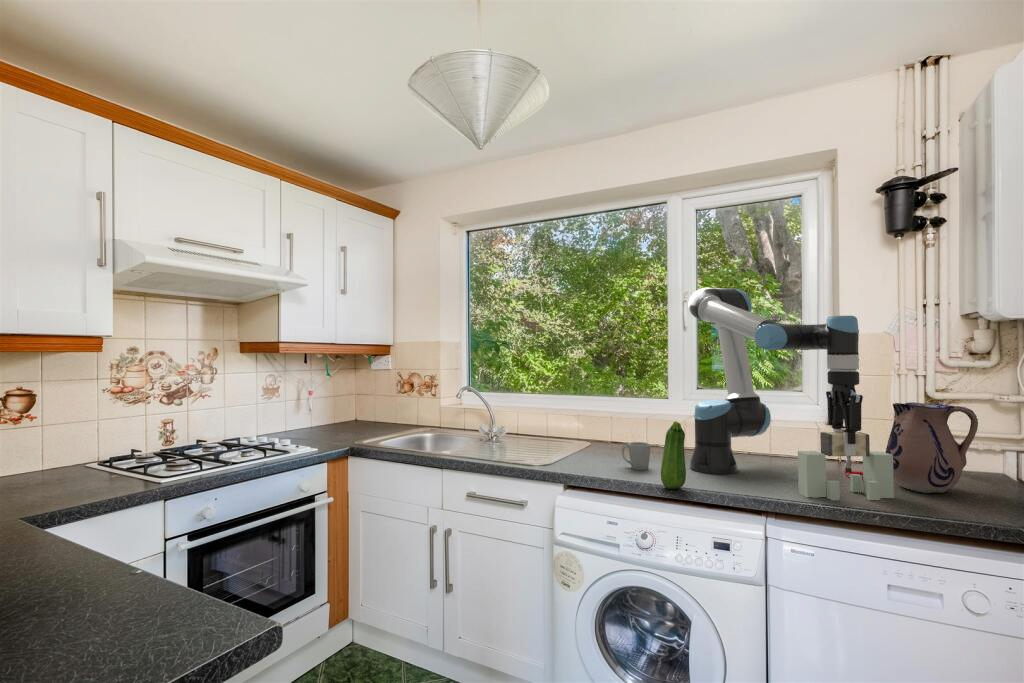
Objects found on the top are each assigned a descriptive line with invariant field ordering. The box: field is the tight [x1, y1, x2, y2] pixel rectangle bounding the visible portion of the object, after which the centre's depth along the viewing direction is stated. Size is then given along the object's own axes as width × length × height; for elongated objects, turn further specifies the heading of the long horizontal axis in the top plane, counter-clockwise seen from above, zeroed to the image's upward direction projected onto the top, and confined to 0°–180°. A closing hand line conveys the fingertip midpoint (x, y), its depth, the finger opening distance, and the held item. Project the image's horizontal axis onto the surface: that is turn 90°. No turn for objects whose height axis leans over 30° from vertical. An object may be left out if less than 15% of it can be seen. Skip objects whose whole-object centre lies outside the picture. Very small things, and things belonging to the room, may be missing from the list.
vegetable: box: [660, 420, 687, 490], centre depth 152 cm, size 7×7×20 cm
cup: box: [621, 441, 652, 471], centre depth 178 cm, size 8×10×8 cm
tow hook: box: [843, 456, 863, 480], centre depth 164 cm, size 8×13×9 cm
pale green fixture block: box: [849, 450, 895, 501], centre depth 143 cm, size 8×9×12 cm
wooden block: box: [819, 431, 871, 457], centre depth 143 cm, size 11×4×6 cm, turn 87°
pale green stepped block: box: [797, 450, 841, 501], centre depth 143 cm, size 8×9×12 cm
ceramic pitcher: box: [885, 401, 979, 494], centre depth 148 cm, size 18×21×25 cm
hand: (844, 453), depth 143 cm, fingers closed on wooden block, 4 cm apart
